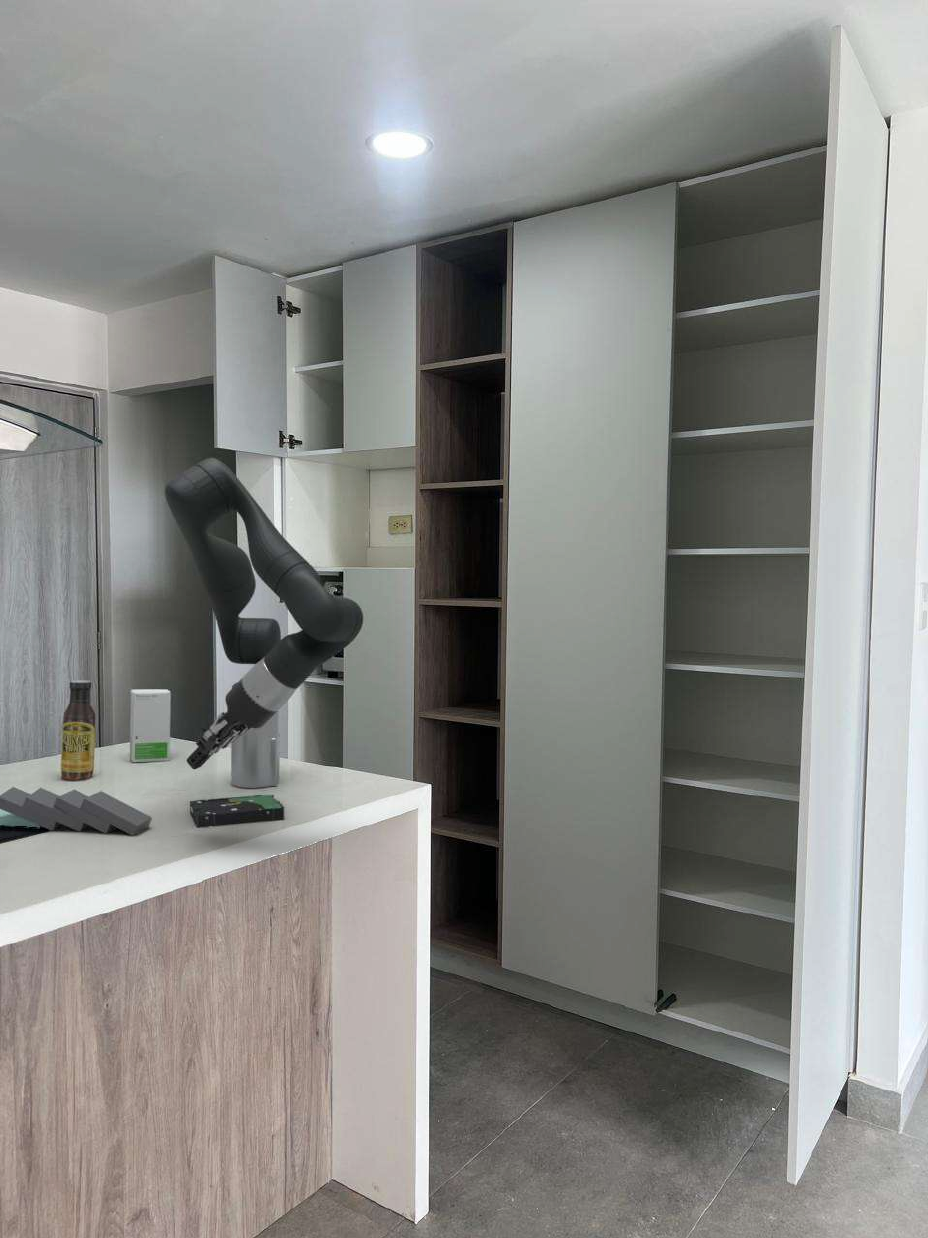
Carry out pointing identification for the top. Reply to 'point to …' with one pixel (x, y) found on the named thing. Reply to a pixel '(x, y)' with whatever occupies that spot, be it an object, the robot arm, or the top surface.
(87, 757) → the sauce bottle
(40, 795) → the domino
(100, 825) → the domino
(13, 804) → the domino
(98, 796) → the domino
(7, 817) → the domino
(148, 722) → the skincare box
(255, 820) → the disk drive
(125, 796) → the top surface
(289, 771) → the top surface
